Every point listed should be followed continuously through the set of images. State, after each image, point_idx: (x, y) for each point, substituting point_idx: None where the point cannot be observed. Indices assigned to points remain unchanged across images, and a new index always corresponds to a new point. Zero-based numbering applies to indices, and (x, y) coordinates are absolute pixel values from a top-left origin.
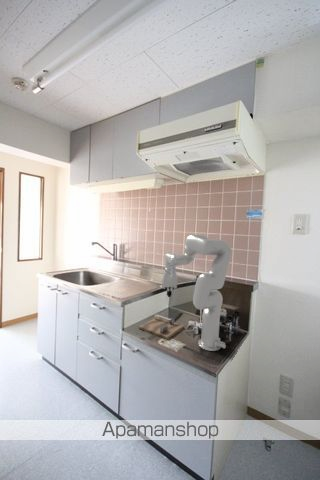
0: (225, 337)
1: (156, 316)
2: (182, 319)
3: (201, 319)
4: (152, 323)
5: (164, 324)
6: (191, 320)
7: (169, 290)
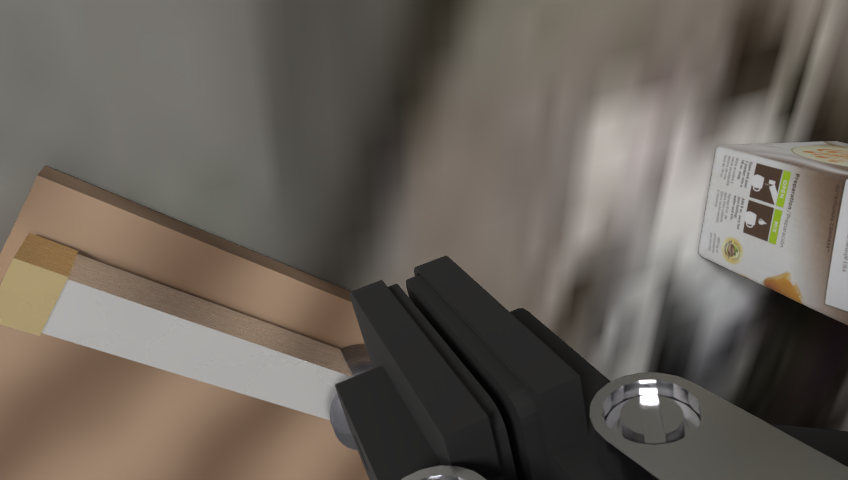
0: (830, 411)
1: (49, 327)
2: (509, 81)
3: (775, 290)
4: (33, 470)
5: (249, 431)
6: (630, 91)
7: (550, 425)
